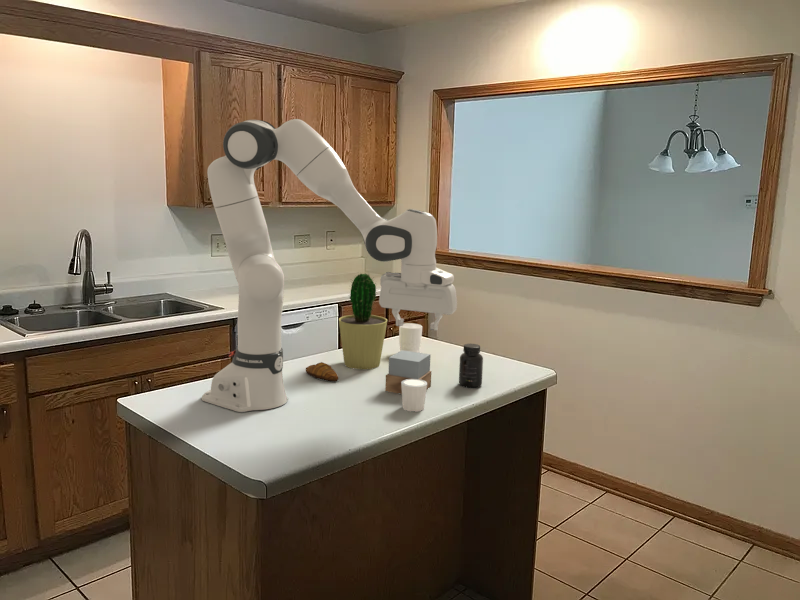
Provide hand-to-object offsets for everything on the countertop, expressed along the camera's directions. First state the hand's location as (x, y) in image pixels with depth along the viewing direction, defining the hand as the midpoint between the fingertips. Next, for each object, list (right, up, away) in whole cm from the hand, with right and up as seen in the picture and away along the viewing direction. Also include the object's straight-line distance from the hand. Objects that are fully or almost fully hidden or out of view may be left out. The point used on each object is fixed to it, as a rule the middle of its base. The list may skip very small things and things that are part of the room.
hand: (416, 327), depth 167 cm
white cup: (-1, -12, +56) cm, 57 cm away
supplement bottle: (+16, -18, +25) cm, 35 cm away
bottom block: (-2, -19, +19) cm, 27 cm away
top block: (-2, -14, +19) cm, 23 cm away
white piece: (-1, -21, +4) cm, 22 cm away
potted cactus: (-16, -14, +42) cm, 47 cm away
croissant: (-28, -16, +27) cm, 42 cm away
